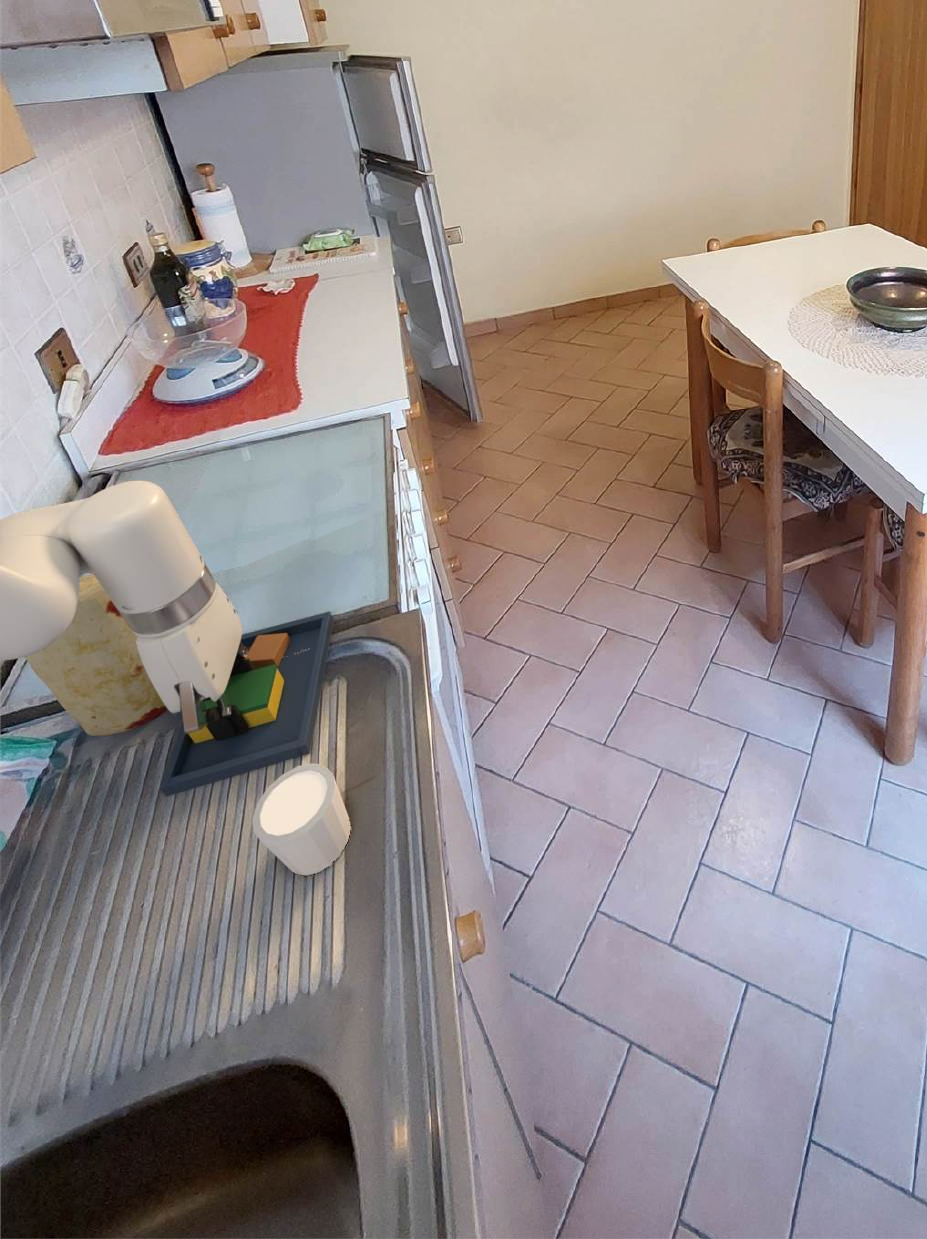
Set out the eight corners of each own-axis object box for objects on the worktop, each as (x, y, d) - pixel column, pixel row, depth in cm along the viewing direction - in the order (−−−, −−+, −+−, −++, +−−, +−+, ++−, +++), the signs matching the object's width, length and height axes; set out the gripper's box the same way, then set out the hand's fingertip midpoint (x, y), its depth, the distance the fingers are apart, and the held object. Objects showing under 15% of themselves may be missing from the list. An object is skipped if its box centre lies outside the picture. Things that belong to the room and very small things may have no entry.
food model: (88, 762, 77) (-16, 637, 67) (94, 713, 82) (-2, 590, 73) (192, 712, 81) (108, 587, 72) (192, 668, 86) (113, 546, 77)
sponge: (195, 743, 77) (183, 726, 76) (208, 702, 81) (197, 685, 80) (275, 720, 79) (265, 703, 77) (284, 680, 83) (275, 663, 81)
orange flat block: (247, 669, 85) (242, 661, 84) (262, 643, 88) (257, 635, 87) (277, 667, 85) (273, 659, 84) (291, 640, 88) (287, 632, 87)
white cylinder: (283, 821, 70) (256, 780, 67) (358, 791, 72) (336, 750, 68) (276, 898, 64) (245, 857, 61) (357, 864, 66) (332, 822, 63)
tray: (168, 799, 73) (159, 787, 72) (217, 654, 88) (210, 642, 87) (311, 756, 75) (304, 744, 74) (335, 622, 90) (330, 610, 89)
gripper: (157, 544, 78) (223, 655, 86) (89, 682, 63) (177, 798, 72) (232, 526, 79) (291, 637, 88) (183, 656, 65) (259, 774, 73)
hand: (239, 709), depth 80 cm, fingers closed on sponge, 5 cm apart
